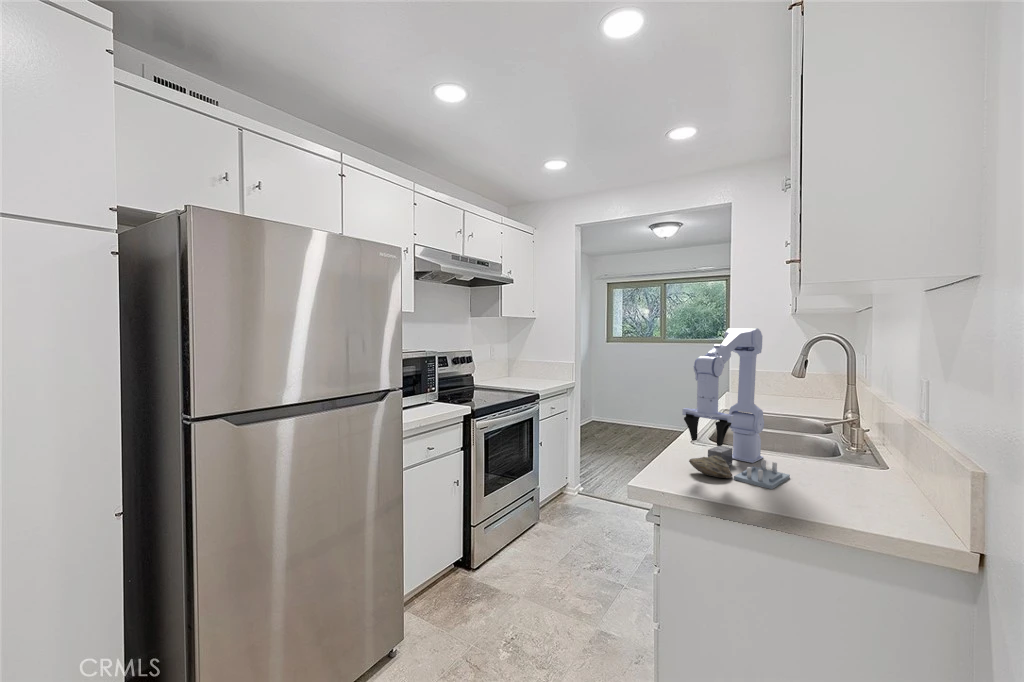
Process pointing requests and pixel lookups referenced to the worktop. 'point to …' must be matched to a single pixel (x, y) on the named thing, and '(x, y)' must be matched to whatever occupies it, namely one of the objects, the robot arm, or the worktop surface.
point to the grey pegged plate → (762, 476)
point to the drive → (722, 453)
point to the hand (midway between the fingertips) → (706, 442)
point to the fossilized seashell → (712, 466)
